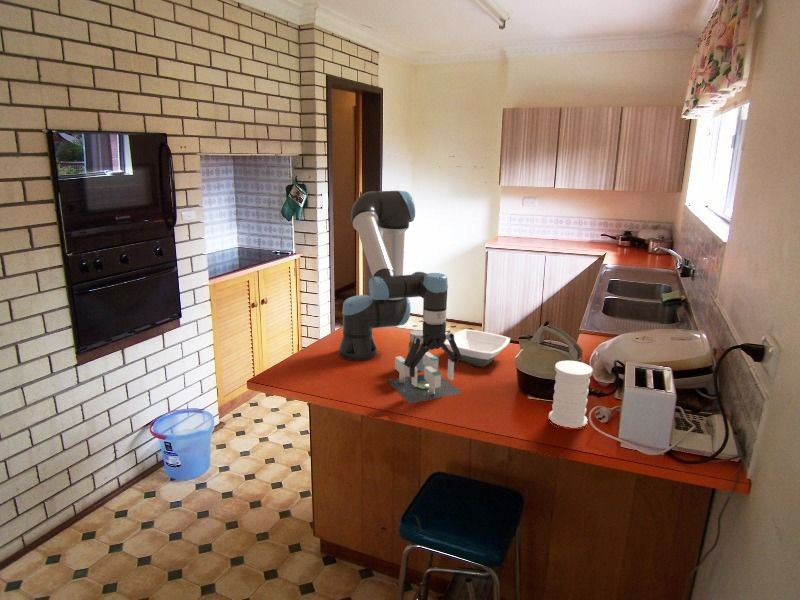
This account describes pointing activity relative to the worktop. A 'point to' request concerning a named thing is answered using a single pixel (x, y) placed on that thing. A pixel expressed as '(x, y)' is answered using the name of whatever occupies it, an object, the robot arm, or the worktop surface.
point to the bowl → (478, 346)
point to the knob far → (430, 360)
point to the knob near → (401, 368)
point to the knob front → (432, 378)
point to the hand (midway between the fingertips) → (432, 382)
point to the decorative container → (570, 394)
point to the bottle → (419, 335)
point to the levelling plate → (422, 389)
